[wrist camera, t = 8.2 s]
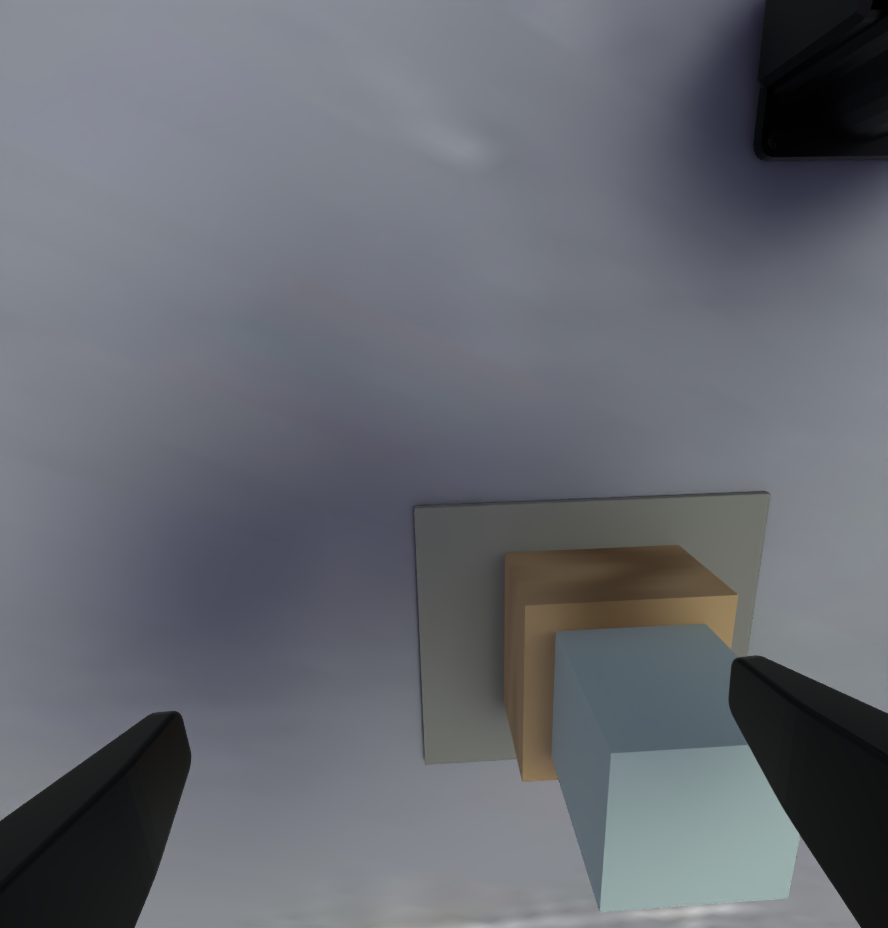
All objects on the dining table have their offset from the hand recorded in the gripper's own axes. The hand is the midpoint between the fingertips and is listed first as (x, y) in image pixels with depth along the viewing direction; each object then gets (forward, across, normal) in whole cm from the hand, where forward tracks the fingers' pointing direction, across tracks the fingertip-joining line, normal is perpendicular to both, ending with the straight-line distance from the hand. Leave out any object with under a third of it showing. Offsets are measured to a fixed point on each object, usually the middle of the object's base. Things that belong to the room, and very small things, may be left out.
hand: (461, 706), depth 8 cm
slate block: (+8, -6, +7) cm, 12 cm away
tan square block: (+12, -6, +7) cm, 15 cm away
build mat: (+12, -6, +7) cm, 15 cm away
